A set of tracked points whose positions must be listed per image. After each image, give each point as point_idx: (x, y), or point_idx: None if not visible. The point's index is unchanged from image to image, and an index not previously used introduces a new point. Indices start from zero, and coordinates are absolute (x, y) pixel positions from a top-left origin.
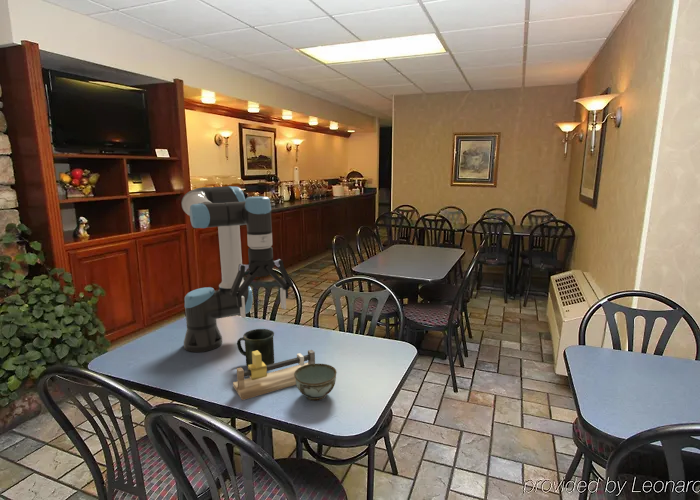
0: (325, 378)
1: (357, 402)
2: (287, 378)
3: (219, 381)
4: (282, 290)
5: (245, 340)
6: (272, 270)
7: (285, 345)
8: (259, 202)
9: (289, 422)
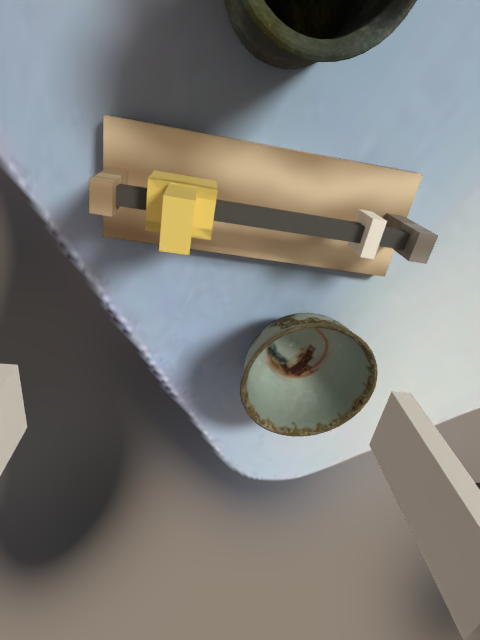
0: (347, 347)
1: None
2: (282, 233)
3: (66, 16)
4: (471, 614)
5: None
6: None
7: None
8: None
9: (173, 393)
